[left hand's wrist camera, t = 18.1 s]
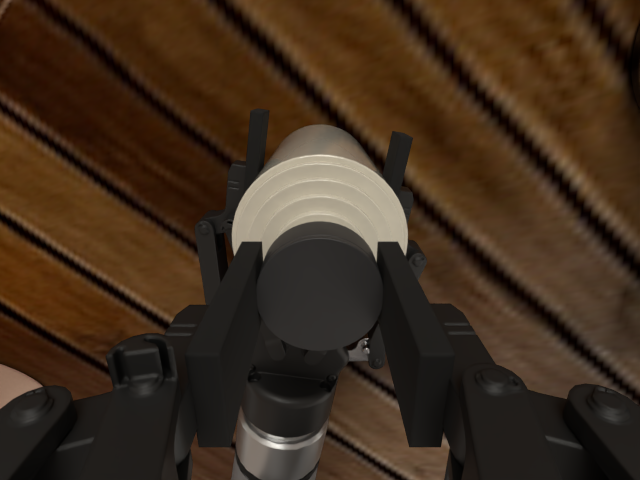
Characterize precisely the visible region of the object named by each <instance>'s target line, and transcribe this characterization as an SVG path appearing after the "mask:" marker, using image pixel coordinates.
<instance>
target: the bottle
mask: <svg viewBox="0 0 640 480" xmlns="http://www.w3.org/2000/svg"><path fill="white" fill-rule="evenodd" d="M314 221H325V222H332V223H336V224H340V225H342V226H345V227H347V228H349V229H351V230H353V231H354V232H356V233H357V234H358V235H359V236H361V237H362V238H363V239H364V240H365V242H366V243H367V244H368V245H369V247H370V248H371V250H372V252H373V254H374V257H375V259H376V261H377V245H378V241H398V243H399V245H400V247H401V249H402V251H403V252H404V254H405V255H406V251H407V244H408V228H407V221H406V217H405V214H404V210H403V208H402V206H401V203H400V201H399V199H398V198H397V196H396V194H395V193H394V191H393V190H392V188H391V187H390V186H389V184H388V183H387V181H386V180H385V179H384V177H383V176H382V174H381V173H380V172H379V170H378V169H377V167H376V166H375V165H374V163H373V162H372V160H371V159H370V158H369V156H368V155H367V154H366V152H365V151H364V149H363V148H362V147H361V145H360V144H359V143H358V142H357V140H356V139H355V138H353V137H352V136H351V135H350V134H348V133H347V132H345V131H343V130H341V129H339V128H336V127H333V126H329V125H311V126H306V127H303V128H301V129H298V130H297V131H295V132H293V133H292V134H290V135H289V136H287V137H286V138H285V139H284V140H283V141H282V143H281V144H280V145H279V146H278V148H277V149H276V151H275V152H274V153H273V155H272V156H271V157H270V159H269V160H268V162H267V163H266V164H265V166H264V167H263V169H262V170H261V171H260V173H259V174H258V175H257V177H256V178H255V180H254V181H253V182H252V184H251V185H250V187H249V188H248V189H247V191H246V192H245V194H244V195H243V197H242V199H241V201H240V202H239V205H238V207H237V210H236V212H235V216H234V220H233V226H232V247H233V252H234V256H235V254H236V252H237V250H238V248H239V246H240V244H241V242H242V241H262V249H263V261H264V258H265V256H266V253H267V251H268V249H269V248H270V246H271V245H272V243H273V242H274V241H275V240H276V239H277V238H278V237H279V236H280V235H281V234H283V233H284V232H285V231H287V230H289V229H290V228H292V227H295V226H297V225H300V224H303V223H307V222H314Z"/></svg>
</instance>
